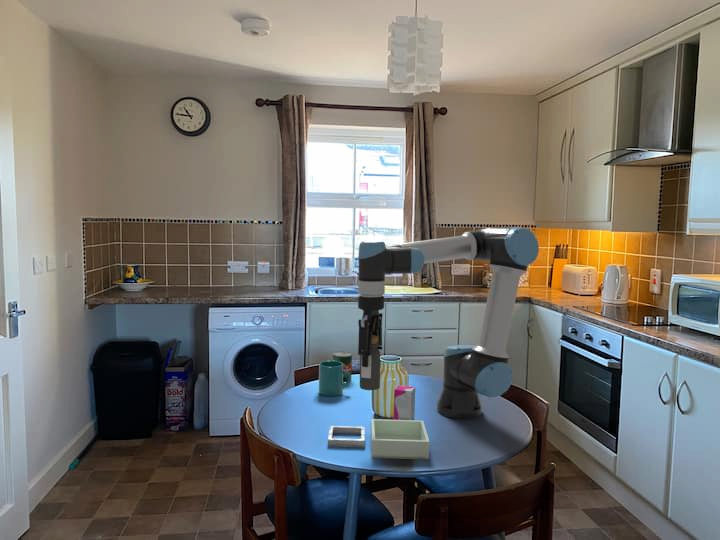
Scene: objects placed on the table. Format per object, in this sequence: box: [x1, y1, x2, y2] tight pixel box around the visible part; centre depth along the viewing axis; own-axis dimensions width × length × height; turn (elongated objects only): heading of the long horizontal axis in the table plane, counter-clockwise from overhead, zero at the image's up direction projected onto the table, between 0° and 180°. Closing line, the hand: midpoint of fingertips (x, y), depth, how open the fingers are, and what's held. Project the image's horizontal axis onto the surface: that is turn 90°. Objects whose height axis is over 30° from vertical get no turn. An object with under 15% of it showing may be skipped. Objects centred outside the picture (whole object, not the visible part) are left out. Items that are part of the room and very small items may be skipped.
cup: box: [318, 360, 352, 397], centre depth 199 cm, size 9×12×11 cm
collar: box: [327, 425, 366, 448], centre depth 156 cm, size 10×10×2 cm
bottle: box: [359, 335, 381, 391], centre depth 153 cm, size 6×6×15 cm
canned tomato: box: [332, 350, 353, 382], centre depth 216 cm, size 8×8×11 cm
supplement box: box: [392, 385, 416, 420], centre depth 171 cm, size 6×6×12 cm
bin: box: [370, 418, 430, 460], centre depth 152 cm, size 16×16×5 cm
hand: (370, 374), depth 153 cm, fingers closed on bottle, 6 cm apart
